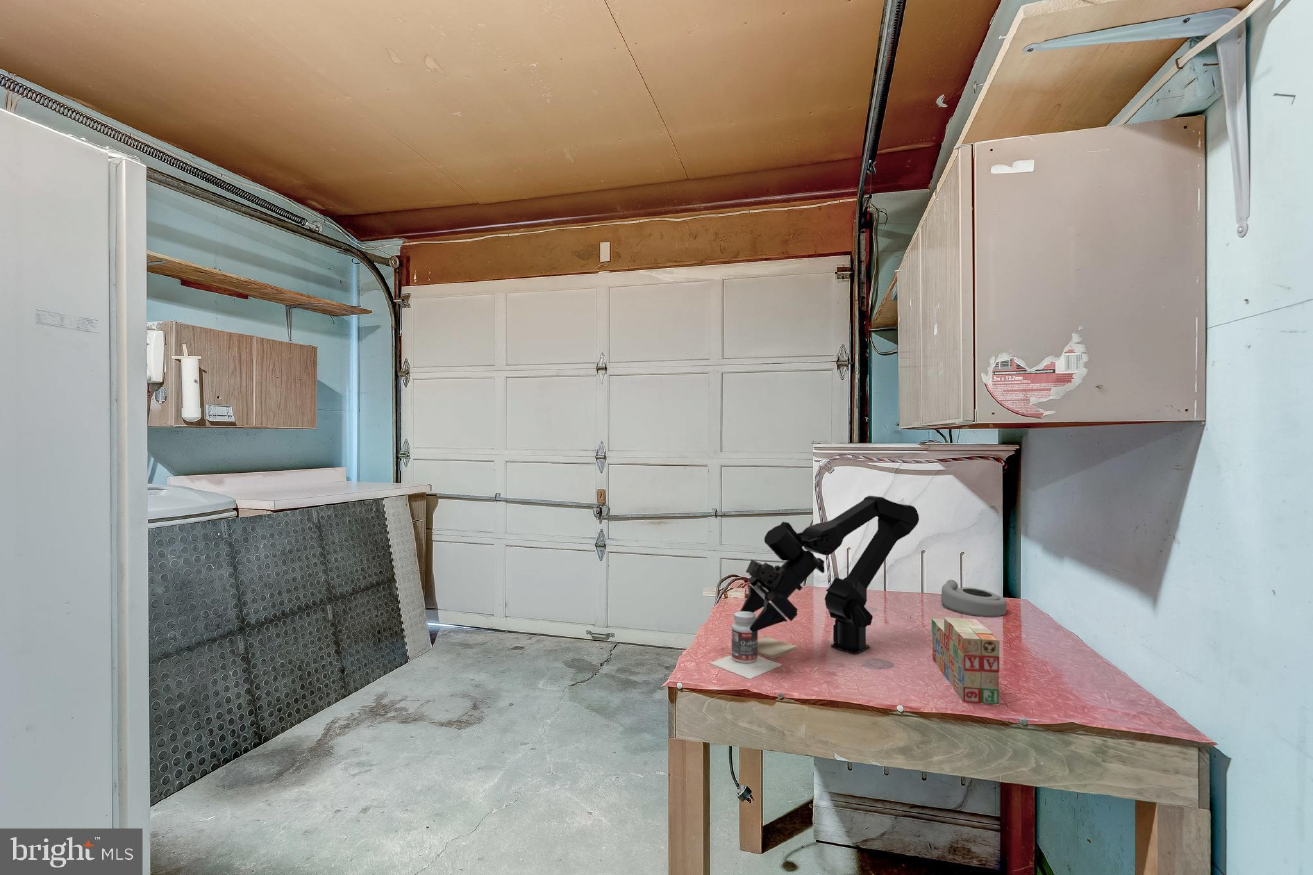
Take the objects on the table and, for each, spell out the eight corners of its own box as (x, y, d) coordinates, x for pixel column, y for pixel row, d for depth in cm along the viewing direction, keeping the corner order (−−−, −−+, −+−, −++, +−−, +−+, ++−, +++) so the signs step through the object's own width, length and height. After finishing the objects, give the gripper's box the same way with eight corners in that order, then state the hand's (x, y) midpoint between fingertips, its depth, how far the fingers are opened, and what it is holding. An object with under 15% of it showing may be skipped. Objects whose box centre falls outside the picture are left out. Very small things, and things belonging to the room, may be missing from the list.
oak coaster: (796, 648, 134) (796, 646, 134) (773, 658, 128) (773, 655, 128) (765, 638, 140) (765, 636, 140) (741, 647, 134) (741, 645, 134)
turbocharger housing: (999, 626, 154) (1009, 613, 166) (1001, 602, 154) (1011, 590, 165) (932, 609, 165) (946, 598, 177) (934, 587, 165) (947, 577, 176)
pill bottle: (742, 665, 123) (742, 619, 123) (726, 657, 128) (726, 612, 128) (763, 660, 126) (763, 615, 126) (746, 652, 131) (746, 608, 131)
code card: (782, 665, 124) (782, 664, 124) (749, 679, 117) (749, 678, 117) (742, 651, 132) (742, 650, 132) (710, 663, 125) (710, 663, 125)
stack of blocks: (931, 659, 127) (931, 604, 127) (962, 661, 126) (961, 605, 126) (963, 703, 106) (963, 636, 106) (1000, 706, 105) (1000, 638, 105)
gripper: (756, 540, 137) (710, 588, 136) (782, 556, 119) (730, 611, 117) (787, 572, 138) (743, 620, 137) (819, 593, 120) (767, 648, 118)
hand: (745, 623), depth 127 cm, fingers open, 9 cm apart
